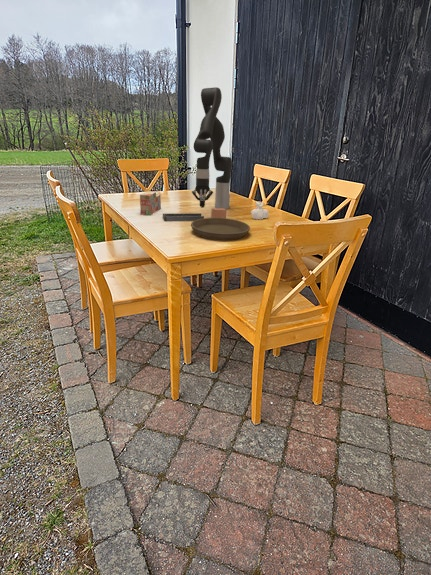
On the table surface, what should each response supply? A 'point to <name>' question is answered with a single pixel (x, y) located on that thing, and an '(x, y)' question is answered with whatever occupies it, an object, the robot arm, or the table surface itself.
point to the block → (218, 213)
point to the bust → (259, 211)
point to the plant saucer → (220, 228)
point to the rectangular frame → (182, 216)
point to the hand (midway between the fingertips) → (202, 207)
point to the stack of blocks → (149, 203)
